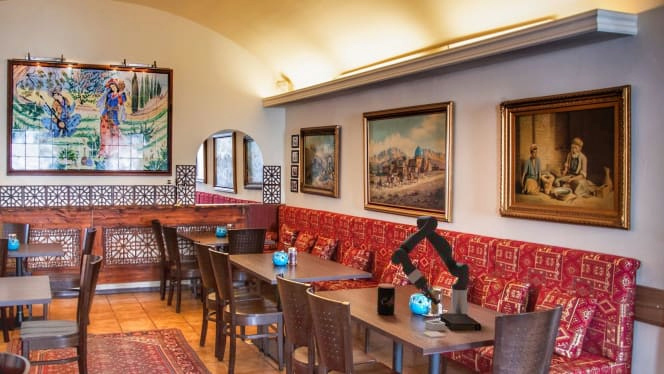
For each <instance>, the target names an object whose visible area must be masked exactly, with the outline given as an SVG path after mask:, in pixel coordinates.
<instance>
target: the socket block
mask: <svg viewBox="0 0 664 374" xmlns="http://www.w3.org/2000/svg"><path fill="white" fill-rule="evenodd" d="M439 320H440V319H439ZM439 320H438V319H431V320H425V324H424V325H425V326H424V327H425V328H426V329H427V330H429V331H430V332H433V331H437V332H440V331H445V330H446V326H445V323H444V322H441V321H439Z"/></svg>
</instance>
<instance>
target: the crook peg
mask: <svg viewBox="0 0 664 374" xmlns="http://www.w3.org/2000/svg"><path fill="white" fill-rule="evenodd" d="M432 295H433V296H434V298H435V299H436V300H437V301H438V298H439V295H440V296H441V295H442V296H444V295H445V291H444V290H439V289H434V290H432ZM439 299H440V298H439ZM430 305H431V306H430V315H433V316H434V315H435V316H437V315H439V304H437V305H435V304H434V303H433V302H432V301H431V300H430Z"/></svg>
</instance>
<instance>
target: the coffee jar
mask: <svg viewBox="0 0 664 374" xmlns="http://www.w3.org/2000/svg"><path fill="white" fill-rule="evenodd" d="M377 287H378V288H377V298H376V299H377V303H376V304H377V305H376V312H377V314H378V315H379V316H386V317H387V316H393V315H394V314H395V309H396V308H395V305H396V304H395V302H396V300H395V299H396V289H395V287H396V285H395V284H392V283H378V284H377Z"/></svg>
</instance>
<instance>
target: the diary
mask: <svg viewBox="0 0 664 374" xmlns="http://www.w3.org/2000/svg"><path fill="white" fill-rule="evenodd" d="M438 315H439V316H440V317H439V318H440V319H437V320H439V321H441V322H444V323H445V327H446V326H447V327H446V328H448V330H449V329H450V330H449V331H451V332H468V331H478V330H479V331H481V330H482V324H481V323H480V322H479V321H476V320H475V319H474V318H473V317H471V316H470V315H467V314H455V313H451V312H449V313H448V312H445V313H443V312H442V313H438Z"/></svg>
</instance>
